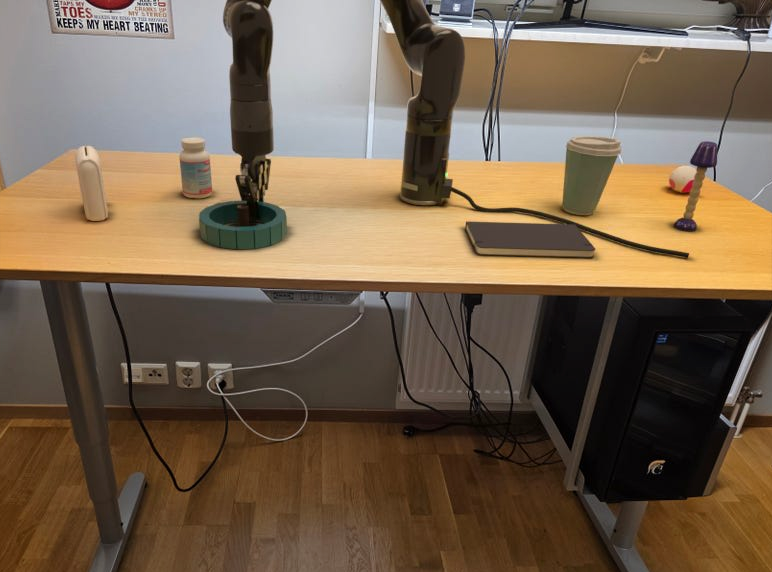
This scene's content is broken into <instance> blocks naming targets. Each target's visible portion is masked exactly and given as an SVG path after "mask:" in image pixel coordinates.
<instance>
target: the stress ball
mask: <svg viewBox="0 0 772 572" xmlns="http://www.w3.org/2000/svg"><path fill="white" fill-rule="evenodd" d="M696 170H697V168H694V167H693V166H692V165H691V166H690V165H680V166H679V167H676V168H675V169H673V170H672V171H671V173H670V174H669V177H668V184H669V187H668V190H670V189H672V190H673V191H674V192H677V193H680V194H681V193H682V194H683V193H687V194H690V191H691V189H692V184H693V181H694V176H695V174H696V173H697V171H696Z"/></svg>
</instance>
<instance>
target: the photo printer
mask: <svg viewBox="0 0 772 572" xmlns="http://www.w3.org/2000/svg"><path fill="white" fill-rule="evenodd" d="M74 156H75V159H74V160H75V167H76V172H77V173H76V174H77V178H78V184H79V189H80V194H81V199H82V205H83V209H84V214H85V217H86V219H87V220H90V222H91V221H93V222H98V221H100V222H101V221H104V220H106V219H107V218H108V217H109V206H108V201H107V196H106V190H105V184H104V183H105V182H104V179H103V172H102V171H103V170H102V164H101V159H100V155H99V153H98V152H97V150H96V149H95V147H93V146H91V145H82V146H80V147H79V148H78V149H77V150H76V152H75V155H74Z"/></svg>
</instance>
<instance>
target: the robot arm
mask: <svg viewBox="0 0 772 572" xmlns="http://www.w3.org/2000/svg"><path fill="white" fill-rule="evenodd" d="M272 1H273V0H226V1H225V5H224V7H223V12H222V23H223V28H224V30H225V32H226V33H227V35H228V36H229V37H230V38H231V43H232V44H231V45H232V63H231V64H230V66H229V74H228V75H229V76H228V77H229V78H228V79H229V95H230V105H229V118H230V119H229V121H230V137H231V149H232V151H233V153H235V154H237V155H239V156H240V157H241V161H240V163H239V171H240V174H236V175H235V183H236V186H237V189H238V193H239V196H240V201H241V200H242V201H247V206H248V215H249V220H251V221H250V222H254V221H258V220H259V219H260V213H259V201H261V202H265V199H264V198H265V196H266V191H268V189H269V182H270V173H271V166H272V165H271V164H272V159H271V158H267V157H266V156H267V155H270V154H271V153H273V152H274V150H275V147H274V145H275V143H274V141H275V140H274V113H273V112H274V111H273V105H272V104H273V103H272V92H271V91H272V88H271V87H272V86H271V85H272V84H271V73H270V72H271V71H270V70H271V65H272V64H271V63H272V56H273V49H274V48H273V46H274V23H273V18H272V15H271V12H270V10H269V8H270V5H271V3H272ZM379 2H380V3H381V5H382V8H383V9H384V11H385V13H386V15H387V17H388V19H389V22H390V24H391V27H392V29H393V32H394V35H395V37H396V40H397V43H398V46H399V49H400V51H401V54H402V56H403V59H404V61H405V64H406V65H407V67H408V68H409V69H410V70H411V72H413V73H414V74H416V75H417V76H420V77H421V78H420V84H419V91H418V92H417V94H416V95H415V96H412V97H410V98H409V99H408V101H407V104H406V105H407V106H406V118H405V119H406V121H405V129H404V130H405V131H404V144H403V157H402V169H401V183H400V193H399V198H400V199H401V201H403V202H405V203H408V204H410V205H411V204H412V205H416V206H434V205H437V206H438V205H439V206H441V205H443V202H444V199H448V200H450V198H451V195H452V193H454V194H455V195H458V196H459V197H460V196H461V197H462V198H464V199H465V200H466V201H467V202H468V204H469V205H470V206H471V207H472V208H473V209H474V210H477V211H479V212H482V213H512V212H513V213H521V214H528V215H532V216H537V217H541V218H545V219H548V220H552V221H555V222H558V223H561V224H575V225H576V226H577V227H578V229H579V230H582V231H584V232H587V233H590V234H592V235H595V236H598V237H601V238H605V239H607V240H609V241H613V242H615V243H617V244H622V245H625V246H628V247H631V248H635V249H639V250H643V251H647V252H652V253H658V254H664V255H669V256H676V257H682V258H687V259H688V258H689V256H690V252H686V251H680V250H673V249H667V248H661V247H656V246H651V245H647V244H642V243H639V242H634V241H631V240H628V239H624V238H622V237H619V236H615V235H612V234H609V233H606V232H604V231H601V230H597V229H596V228H592V227H589V226H586V225H584V224H581V223H579V222H576V221H572V220H571V219H566V218H564V217H560V216H557V215H554V214H550V213H546V212H543V211H538V210H534V209H529V208H522V207H511V206H510V207H495V208H493V207H492V208H491V207H484V206H480V205H478V204H476V203H475V201H474V199H473V198H472V197H471V196H470V195H468V194H467V193H465V192H464V191H461V190H460V189H457V188H455V187H453V182H454V179H453V178H447V177H448V167H449V160H450V159H449V158H450V152H449V151H450V143H451V142H450V141H451V135H452V127H453V125H452V124H453V117H454V110H455V108H456V105H457V103H458V101H459V98H460V93H461V88H462V83H463V82H462V81H463V75H464V69H465V62H466V45H465V41H464V39H463V37H462V35H461V34H460V32H459V31H457V30H455V29H453V28H449V27H445V26H441V25H436V24H435V21H433V19H432V18H431V15H430V14H429V12H428V10H427V7H426V5H425V4H424V1H423V0H379Z"/></svg>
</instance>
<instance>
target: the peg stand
mask: <svg viewBox="0 0 772 572" xmlns="http://www.w3.org/2000/svg"><path fill="white" fill-rule="evenodd" d="M237 217H238V221H237V222H233V223H229V224H227V225H226V226H234V227H249V226H257V225H260V224H258V223H256V222H250V221H249V215H248V206H247V205H238V206H237Z"/></svg>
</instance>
